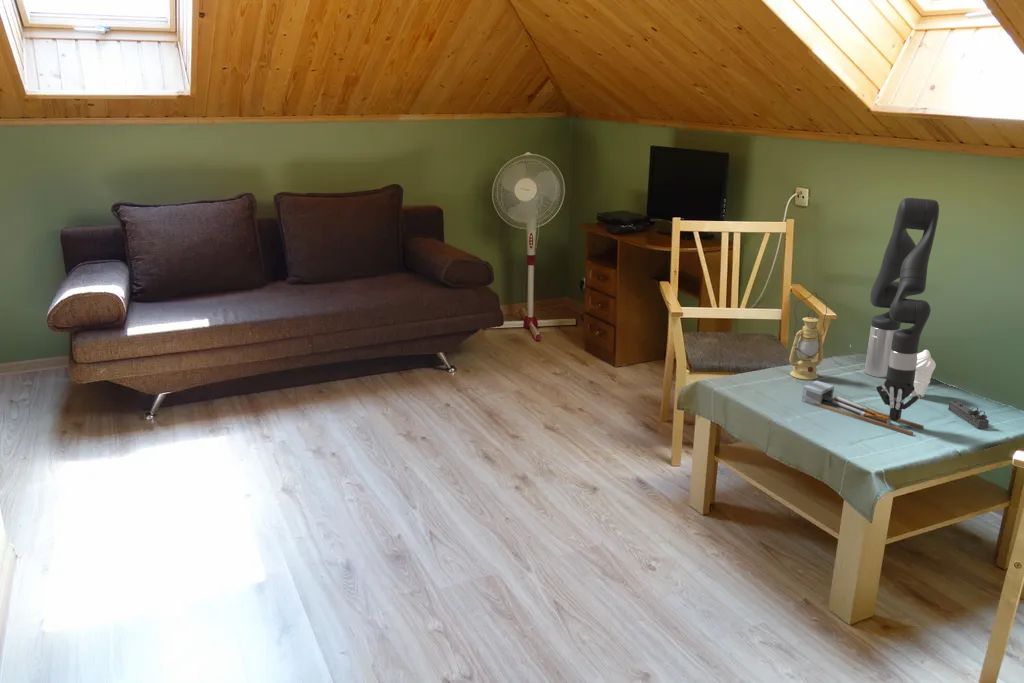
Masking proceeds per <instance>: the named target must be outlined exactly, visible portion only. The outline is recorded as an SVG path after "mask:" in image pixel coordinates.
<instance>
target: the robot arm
mask: <svg viewBox="0 0 1024 683" xmlns="http://www.w3.org/2000/svg"><path fill="white" fill-rule="evenodd" d="M939 215H940V204H939V202H938V201H937V200H935V199H928V198H918V197H917V198H916V197H905V198H903V199H902V200H901V201H900V202H899V204H898V207H897V211H896V214H895V219H894V224H893V228H892V230H891V231H892V232H891V235H890V237H889V241H888V243H887V246H886V248H885V251H884V253H883V258H882V260H881V261H882V262H881V265H880V269H879V272H878V274H877V275H876V276H877V277H876V278H875V281H874V282H873V285H872V287H871V290H870V294H869V295H870V296H869V297H870V303H871V305H872V306H873V307H875V308H882V309H889V310H888V311H886V312H884V313H881V314H879V315H875V316H873V317H872V318H871V325H870V330H869V338H868V344H867V346H868V347H867V351H866V359H865V365H864V373H865V374H867V375H869V376H871V377H872V376H873V377H877V378H886V379H885V381H884V383H883V384H881V385H878V386H876V391H877V393H878V394H879V396H880V398H881V399H882V402H883V403H884V405H885V406H886V405H887V406H889V407H890V408H889V414H888V415H889V416H890V418H891V421H893V420H894V421H893V422H896V421H897V420H898V419H902V411H903V410H906V409H908V408H909V407H911V406H913V405H914V404H915V403H916V402H917V401H918V400H920V399H921V398H922V397H921V395H920V394H917V393H916V392H915V391H914V390H915V388H914V379H915V372H916V365H917V354H918V349H919V345H920V344H919V342H920V339H921V335H922V332H923V330H924V327H925V325H927V324H926V323H927V321H928V320H929V317H930V315H931V305H930V303H929V302H927V301H926V300H924V299H914V298H913V299H911V298H907V297H910V296H916V295H921V294H923V293H924V292H925V291H926V287H927V284H926V283H927V275H928V267H929V262H930V261H929V260H930V256H931V252H932V250H933V249H932V248H933V246H934V245H933V244H934V240H935V235H936V230H937V227H938V226H937V225H938V221H939ZM908 229H909V230H917V231H923V233H922V236H921V238H920V240H919V242H917V244H916V243H915V241H914V240H913V238H912V237H911V235H909V233H908V231H907V230H908ZM898 279H899V281H896V280H898ZM901 324H910V325H911V324H913V325H912V326H911V327H909V328H904V329H903V328H902V329H901ZM910 394H911V396H910ZM907 397H909V398H910V400H908V401H907V402H905V401H906V399H907Z"/></svg>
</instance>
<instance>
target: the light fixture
mask: <svg viewBox="0 0 1024 683" xmlns="http://www.w3.org/2000/svg"><path fill="white" fill-rule="evenodd" d="M975 408H976V410H975ZM947 410H948V411H949V412H951V413H953V414H954V415H956V417H958V418H960V419H961V420H964V422H966V423H968V424H970V425H971V426H972V427H974V428H976V429H977V430H987V429H988V426H989V421H990V420H989V419H988V416H987V415H986V412H985V410H979V408H978V407H977V406H976V405H974V406H972V407H971V408H970V407H968V406H967V405H965V404H963V403H962V402H960V401H959V400H952V401H949V402H948V408H947ZM982 412H983V414H981V413H982Z"/></svg>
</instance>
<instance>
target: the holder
mask: <svg viewBox="0 0 1024 683" xmlns="http://www.w3.org/2000/svg"><path fill="white" fill-rule="evenodd" d="M802 389H803V390H802V396H801V402H803V403H806V404H809V405H812V406H816V407H818V408H821V409H824V410H828V411H830V412H831V411H832V412H834V413H838V414H841V415H844V416H847V417H850V418H853V419H856V420H860V421H862V422H863V421H864V422H867V423H869V424H872V425H876V426H879V427H882V428H884V429H885V428H886V429H887V430H892V431H893V432H894V431H896V432H898V433H901V434H904V435H908V436H911V437H912V436H913V435H914V431H910V430H908V429H904V428H901V427H898V426H896V425H891V424H890V423H889V424H886V423H883V422H881V421H879V420H877V419H874V418H869V417H863V416H861V415H858V414H856V413H853V412H851V411H848V410H845V409H842V408H836V407H834V406H831V405H827V404H824V403H822V401H823V400H825V401H828V402H831V403H832V402H833V401H834V390H835V385H833V384H829V383H826V382H824V381H820V380H816V379H815V380H814V381H812V382H811V383H808V384H806V385H804V386H803V387H802ZM835 401H836V400H835ZM838 402H839V401H838ZM840 403H841V402H840ZM843 404H844V403H843ZM845 405H846V404H845ZM848 406H849V405H848ZM850 407H851V406H850ZM853 408H854V407H853ZM855 409H856V408H855ZM869 409H870V408H869ZM858 410H859V409H858ZM870 410H871V411H873V412H875V413H877V414H879V415H883V416H886V417H889V418H890V416H889V415H890V414H886V413H884V412H880V411H877V410H873V409H870ZM860 411H861V410H860ZM892 421H893V422H897V423H900V424H903V425H907V426H909V427H913V428H916V429H919V430H923V429H924V426H925V425H923V424H919V423H916V422H914V421H909V420H907V419H903V418H900V419H898V420H897V421H894V420H892Z"/></svg>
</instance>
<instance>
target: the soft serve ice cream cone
mask: <svg viewBox="0 0 1024 683" xmlns="http://www.w3.org/2000/svg"><path fill="white" fill-rule="evenodd" d="M936 366H937V365H936V362H935V360H934V359H933V358H932V356H931V353H930V351H929V350H928V349H924V350H923V351H921V352H919V353H918V352H917V365H916V372H915V379H914V388H915V390H914V391H915V392H916V393H917V394H920V395H921V398H924V396H925V394H926V391H927V389H928V387H929V384H930V383H931V378H932V375H933V372H934V371H935V369H936ZM910 396H911V394H910V395H909V397H910Z"/></svg>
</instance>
